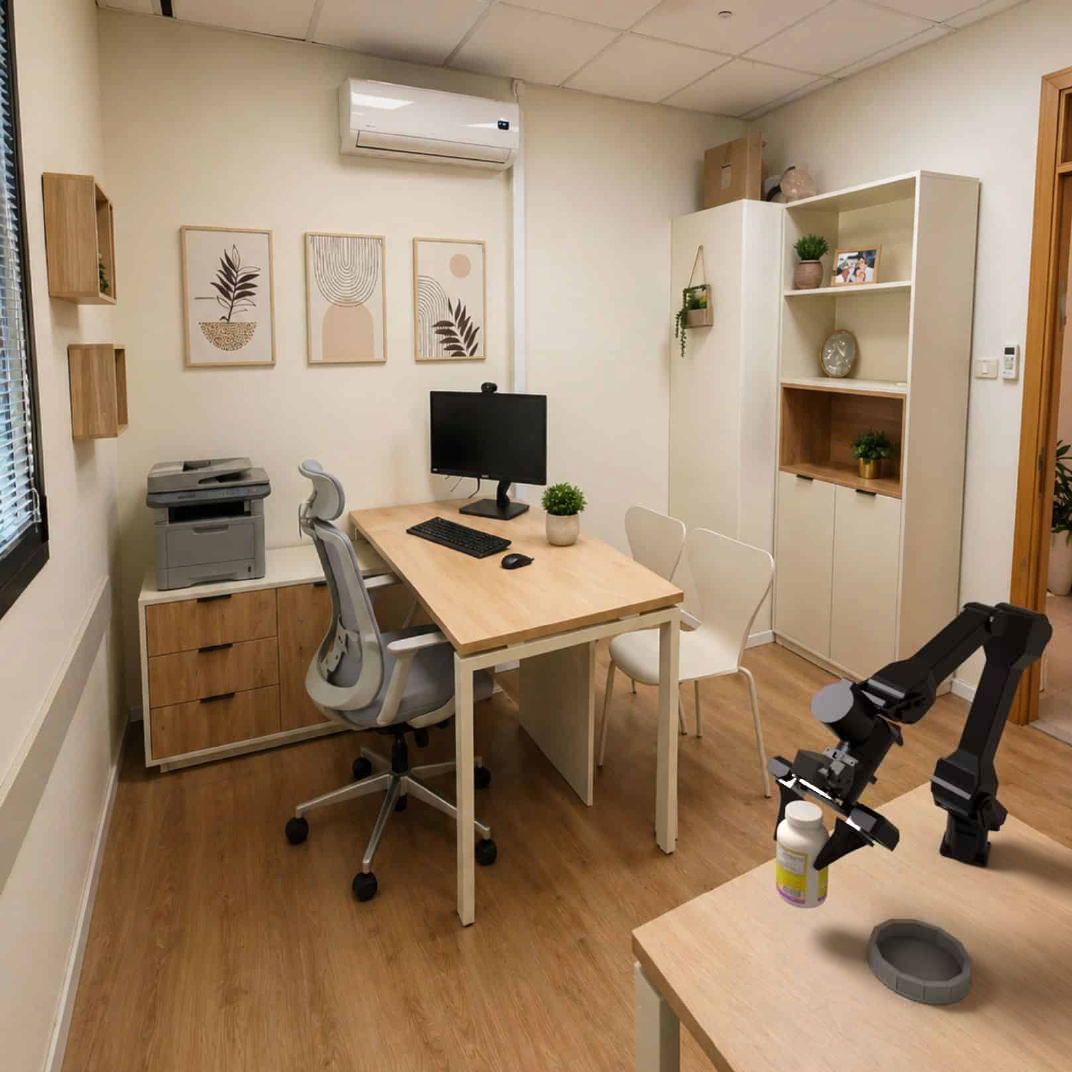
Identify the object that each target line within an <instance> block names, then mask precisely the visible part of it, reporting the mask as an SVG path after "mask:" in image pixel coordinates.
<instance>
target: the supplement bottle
mask: <svg viewBox="0 0 1072 1072" xmlns="http://www.w3.org/2000/svg"><path fill="white" fill-rule="evenodd" d="M785 818H786V819H785V820H783V821H782V822H781V823H780V824H779V826H778V829H777V842H776V863H775V890H776V892H777V895H778V896H779V898H780V899H782V900H783V901H784V902H785V903H786V904H788V905H789V906H792V907H794V908H798V909H814V908H818V907H820V906H822V905H823V904H824V903H825V902H826V899H827V898H828V888H829V887H828V886H829V885H828V883H829V866H830V865H828V866H826V867H825V868H823V869H821V870H820V871H817V870H816V869H814V868H813V865H814V863H815V861H816V859H817V857H818V855H819V854H820V852H821V850H822V849H823V847H824V846H825V844H826V843H827V841H828V840H829V838H830V837H831V835H830V832H829V830H828V828H827V827H825V825H824V824H823V821H824V813H823V810H822V808H821V807H820V806H819V805H817V804H815V803H813V802H811V801H807V800H806V801H793V802H791V803H789V804H788V805H787V806H786V809H785Z"/></svg>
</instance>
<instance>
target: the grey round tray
mask: <svg viewBox="0 0 1072 1072" xmlns="http://www.w3.org/2000/svg"><path fill="white" fill-rule="evenodd" d="M869 936H870V937H869V939H868V943H867V944H868V945H867V955H866V956H867V957H866V958H867V962H868V965H869V968H870V971H872V973H873V974H874V976H875V978H876V979H878V980H879V982H880V983H882V984H883V985H884V986H885V987H886V988H888V989H889V990H890V991H892V992H894V994H897V995H899V996H901V997H903V998H905V999H907V1000H910V1001H913V1002H915V1003H920V1004H925V1005H931V1006H945V1005H951V1004H954V1003H957V1002H959V1001H961V1000H963V999H964V998H965V997H966V996H967V995H968V994H969V992H970V989H971V986H972V966H973V965H972V964H973V959H972V958H971V956H970V955H969V953H968V951H967V949H966V948H965V947H964V945H963V943H962V942H961V941H960V940H959V939H957V938H956V937H954V936H953V935H951V934H950V933H948V931H946V930H944V929H943V928H942V927H940V926H937V925H934V924H931V923H928V922H925V921H922V920H919V919H916V918H889V919H886V920H885V921H883V922H881V923H878V924H877V925H874V926H873V928H872V931H871V933H870V935H869Z"/></svg>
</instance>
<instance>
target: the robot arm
mask: <svg viewBox="0 0 1072 1072" xmlns="http://www.w3.org/2000/svg"><path fill="white" fill-rule="evenodd" d="M1049 621H1050V620H1049V618H1048V616H1047V614H1044V613H1042V612H1038V611H1036V610H1033V609H1029V608H1025V607H1022V606H1019V605H1015V604H1011V603H1008V602H1002V601H1001V602H998V603H996V604H995V605H994V606H993V605H988V604H985V603H981V602H978V601H968V602H966V603H964V605H963V606H962V608H961V610H960V612H959V614H958V615H957V616H956V617H955V618H954V619H952V621H950V622H949V623H948V624H947V625H945V627H943V628H942V629H941V630H940V631H939V632H938V633H937V634H936V635H935V636H933V637H932V638H931V639H929V641H928V642H926V644H925V645H923V646H922V647H921V648H920V649H918V650H917V651H916V652H915V653H914V654H913V655H912V656H910V657H909V658H906V659H902V660H898V661H893V662H890V663H888V664H887V665H885V666H884V667H882V668H881V669H879V670H878V671H876V672H874V673H873V674H872V675H871V676H870V677H868V678H867V679H864V680H862V681H860V682H858V683H857V682H856V681H854V680H852V679H850V678H848V677H845V676H843V677H841V679H840V681H839V682H838V683H831V684H830V683H829V684H827V685H825V686H824V687H822V688H821V689H819V690H817V691H816V692H815V694H814V695H813V697H812V700H811V705H810V708H811V712H812V715H813V717H815V718H816V719H817V720H818V721H819V722H820V723H821V724H822V725H823V726H824V727H825V728H826V729H827V730H828V731H830V732H831V733H832V734H833V735H834V736H835V737H836V738H838V740H839V741H838V742H837V744H836V745H835V747H833V746H831V744H830V745H828V746H827V747H826V748H825V749H824V751H823V752H822V753H818V752H815V751H811V750H807V749H806V750H805V749H802V748H798V749H797V751H796V754H795V757H794V760H793V762H792V761H790V760H789V759H786V758H784V757H783V756H781V755H776V756H774V757H772V758H770V760H769V761H768V762H767V764H766V766H765V768H764V770H766V771H767V772H768V773H769V774H770V775H771V776H773V778H775V780H774V783H775V784H776V785H777V786H778V789H779V790H778V791H779V795H780V801H779V802H780V803H779V808H778V809H779V810H778V814H777V819H776V824H775V828H774V833H773V841H775V842H776V843H777V829H778V826H779V824H780V823H781V822H782V821H783V820H785V819H786V818H785V809H786V806H787V805H788V804H789V803H791V802H793V801H807V800H806V799H805V797H806V795H809V796H810V797H812V798H814V799H815V800H817V801H819V802H821V803H822V804H823V805H825V806H827V807H829V808H830V809H832V810H834V811H835V812H837V813H838V814H840V815H842V816H843V817H845V818H847V819H846V821H845V820H844V819H842V818H840V817H838V816H836V818H835V823H834V828H833V829H834V830H833V832H832V833H831V835H830V838H829V840H828V841H827V843H826V844H825V846H824V847H823V849H822V850H821V852H820V854H819V855H818V857H817V859H816V861H815V863H814V865H813V868H814V869H816V870H817V871H820V870H821V869H823V868H825V867H826V866H828V865H829V866H830V865H831V864H833V863H835V862H837V860H839V859H841V858H843V857H845V856H847V855H849V854H851V853H853V852H855V851H857V850H860V849H862V848H864V847H866V846H869V847H870V848H874V847H875V843H877V844H879V845H880V846H881V847H884V848H885V849H887V850H888V851H890V852H894V850H895V849H896V847H897V846H898V844H899V842H900V838H901V837H900V836H901V833H900V829H899V828H898V827H896V825H894V824H893V823H892V822H891V821H889V820H888V818H887V817H885V816H884V815H882V814H881V813H879V812H878V811H875V810H874V809H872V808H871V807H869V806H867V805H865V804H863V803H861V802H859V801H858V800H859V799H860V798H861V796H862V794H863V792H864V791H865V789H866V788H867V787H868V785H869V784H871V785H873V786H875V784H876V783H877V781H878V778H877V777H876V776H875V773H876V771H878V769H879V767H880V765H881V763H883V761H884V759H885V757H886V756H887V754H888V753H889V751H890V749H891V747H892V746H893V745H896V746H898V747H903V746H904V745H905V744H904V738H903V734H902V726H900V725H899V724H897V723H901V724H903V725H909V726H912V725H915V724H916V723H918V722H919V721H920V720H921V719H923V718H924V717H925V715H926V714H927V712H928V711H929V710H930V709H931V708H932V707H933V706H934V704H935V703H936V699H937V698H936V697H937V692H938V691H937V689H938V687H940V685H941V684H942V683H943V682H944V681H945V680H946V679H947V678H948V677H949V676H951V675H952V674H953V673H954V672H955V671H956V670H957V669H958V668H959V667H960V666H961V665H962V664H963V663H965V662H966V661H967V660H968V659H969V658H970V657H971V656H972V655H973V654H974V653H975V652H977V651H978V649H980V648H981V647H982V650H983V652H984V655H985V662H984V664H983V669H982V671H981V675H980V677H979V681H978V684H977V687H976V690H975V693H974V696H973V700H972V702H971V706H970V708H969V711H968V714H967V717H966V721H965V724H964V727H963V730H962V733H961V737H960V739H959V742H958V746H956V747H957V748H956V750H955V751H953V752H952V753H950V754H949V755H948V756H946V757H943V756H941V757H939V758H938V760H936V764H935V768H934V771H933V775H932V776H931V777H930V779H929V781H930V793H931V794H932V799H933V802H934V805H935V807H937V808H941V809H943V810H944V811H946V812H947V818H946V828H945V831H944V833H943V837H942V840H941V843H940V847H939V852H938V854H940V855H942V856H945V857H947V858H948V857H949V858H953V859H956V860H959V861H964V862H967V863H969V864H973V865H976V866H977V865H978V866H980V867H985V868H986V867H988V864H989V863H988V862H989V857H990V852H991V847H992V842H990V841H988V839H989V833H990V832H995V833H996V832H1000V830H1001V826H1003V825H1004V824H1005V822H1006V820H1007V816H1008V813H1009V810H1008V809H1006V807H1005V806H1004V805H1003V804H1002V803H1001V802H1000V801H999V800H998V799H997V794H998V789H999V785H1000V784H999V783H1000V782H999V779H998V776H997V772H996V768H995V764H994V759H995V756H996V753H997V751H998V747H999V744H1000V742H1001V739H1002V735H1003V732H1004V730H1005V726H1006V723H1007V721H1008V717H1009V714H1010V711H1011V708H1012V706H1013V705H1012V704H1013V702H1014V700H1015V696H1016V693H1017V690H1018V687H1019V684H1020V681H1021V678H1022V676H1023V672H1024V671H1025V669H1027V668H1028V667H1029V666H1031V665H1032V664H1034V663H1035V662H1036V661H1037V660H1039V659H1041V658H1042V655H1043V653H1044V651H1045V649H1046V647H1047V645H1048V644H1049V643H1050V641H1051V639H1052V638H1053V637H1052V636H1053V625H1052V624H1050V622H1049ZM887 719H888V720H887ZM840 802H842V803H840ZM873 841H874V842H875V843H874V842H873Z"/></svg>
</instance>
